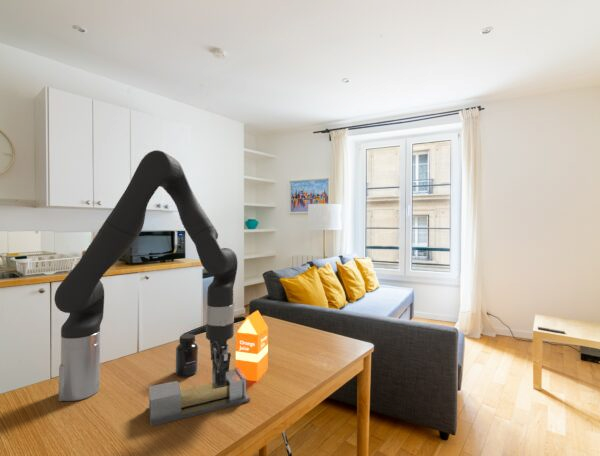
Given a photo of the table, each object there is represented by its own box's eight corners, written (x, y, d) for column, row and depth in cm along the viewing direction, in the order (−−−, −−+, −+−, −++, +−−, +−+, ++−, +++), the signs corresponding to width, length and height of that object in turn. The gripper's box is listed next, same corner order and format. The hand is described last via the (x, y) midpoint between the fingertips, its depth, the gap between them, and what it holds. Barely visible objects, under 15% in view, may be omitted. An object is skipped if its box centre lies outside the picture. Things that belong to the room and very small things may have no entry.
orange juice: (267, 369, 109) (268, 310, 109) (257, 381, 100) (258, 317, 100) (246, 366, 111) (247, 308, 111) (234, 378, 102) (235, 315, 102)
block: (177, 408, 83) (178, 373, 83) (176, 401, 86) (176, 368, 86) (238, 394, 90) (238, 362, 90) (234, 388, 93) (234, 357, 93)
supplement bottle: (190, 378, 101) (190, 340, 101) (171, 376, 103) (171, 339, 103) (201, 369, 108) (201, 333, 108) (183, 367, 110) (183, 332, 109)
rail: (150, 426, 77) (151, 399, 77) (148, 407, 85) (149, 383, 85) (249, 401, 89) (250, 378, 89) (240, 386, 97) (240, 365, 97)
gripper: (201, 315, 94) (200, 373, 94) (212, 329, 81) (211, 397, 81) (226, 312, 97) (225, 368, 98) (240, 325, 85) (239, 390, 85)
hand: (219, 381), depth 90 cm, fingers open, 4 cm apart
